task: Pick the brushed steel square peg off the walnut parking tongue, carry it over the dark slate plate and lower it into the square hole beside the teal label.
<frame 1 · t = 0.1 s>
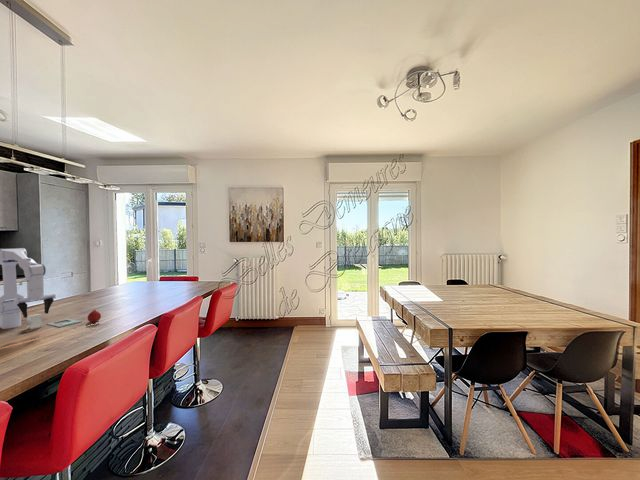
hand: (36, 315, 137), 10 cm above the kitchen island, tool pointing down, fingers open, 7 cm apart
hole plate: (64, 324, 152), on the kitchen island
parking tongue: (34, 329, 144), on the kitchen island
steel peg: (34, 328, 144), point 1 cm above the kitchen island, touching parking tongue
onion: (94, 323, 154), on the kitchen island
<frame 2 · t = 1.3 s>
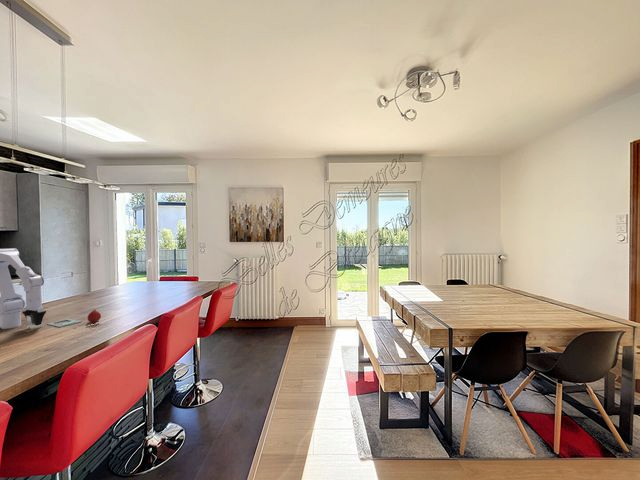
hand: (34, 324, 144), 3 cm above the kitchen island, tool pointing down, fingers open, 7 cm apart
nothing on the kitchen island moved.
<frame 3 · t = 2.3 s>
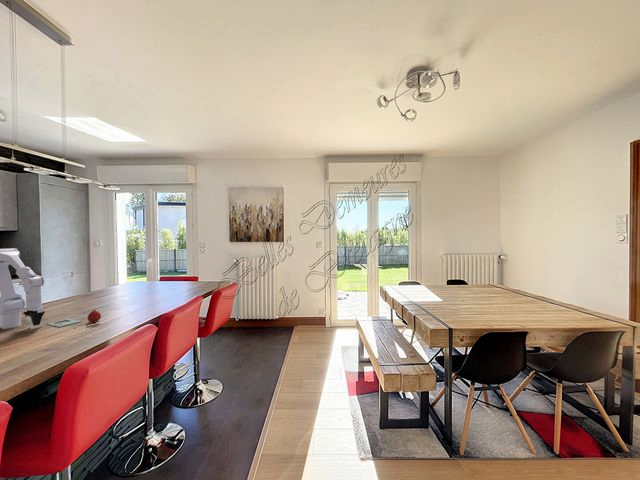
hand: (34, 324, 144), 3 cm above the kitchen island, tool pointing down, fingers closed on steel peg, 4 cm apart
steel peg: (34, 328, 144), point 1 cm above the kitchen island, touching gripper, parking tongue
everything else where it was.
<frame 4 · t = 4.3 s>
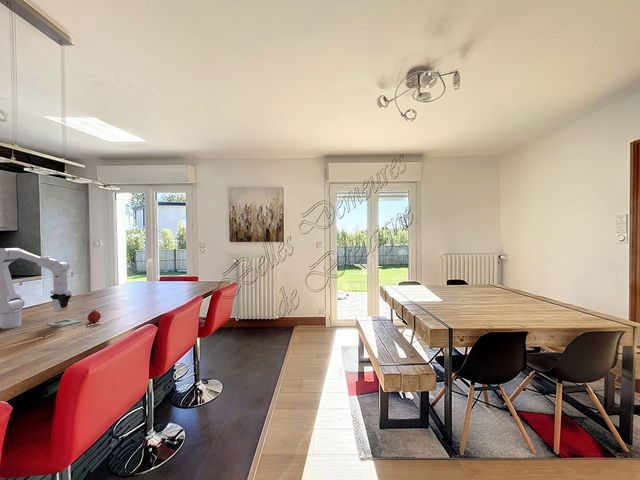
hand: (61, 307, 152), 10 cm above the kitchen island, tool pointing down, fingers closed on steel peg, 4 cm apart
steel peg: (60, 310, 152), point 8 cm above the kitchen island, touching gripper
everything else where it was.
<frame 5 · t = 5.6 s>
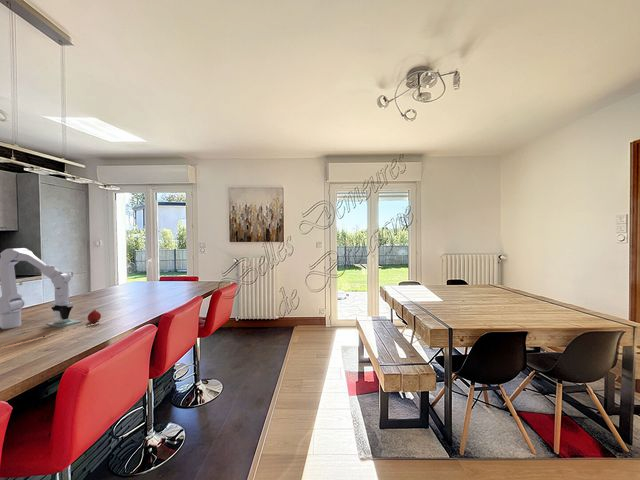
hand: (62, 318, 153), 3 cm above the kitchen island, tool pointing down, fingers closed on steel peg, 4 cm apart
steel peg: (62, 322, 153), point 1 cm above the kitchen island, touching gripper
everything else where it was.
when the fingers open (3 cm above the kitchen island, at t = 6.5 s): steel peg drops 1 cm, resting in hole plate.
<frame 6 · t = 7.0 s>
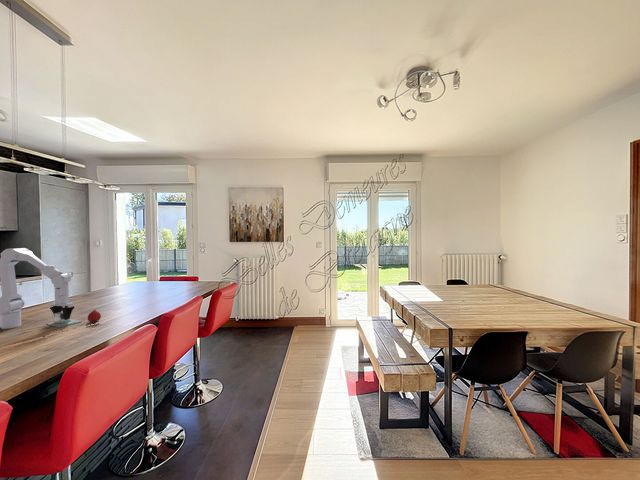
hand: (62, 318, 153), 3 cm above the kitchen island, tool pointing down, fingers open, 7 cm apart
steel peg: (62, 324, 153), resting in hole plate
everything else where it was.
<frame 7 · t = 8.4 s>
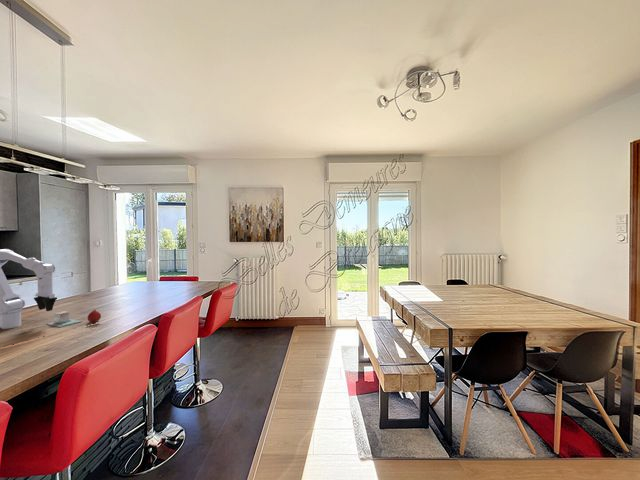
hand: (45, 310, 149), 9 cm above the kitchen island, tool pointing down, fingers open, 7 cm apart
nothing on the kitchen island moved.
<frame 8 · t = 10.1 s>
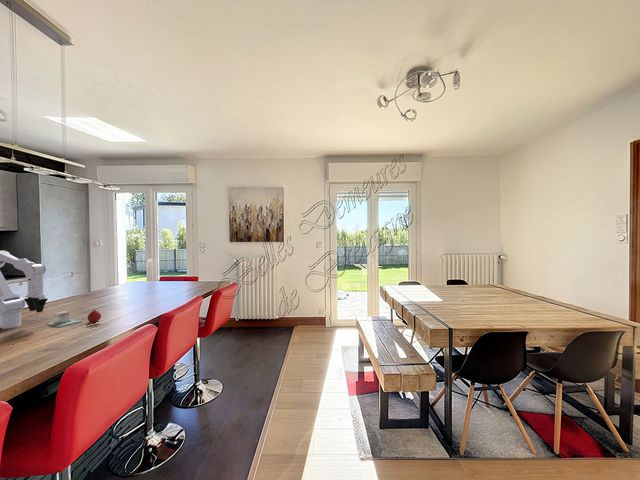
hand: (36, 311, 146), 9 cm above the kitchen island, tool pointing down, fingers open, 7 cm apart
nothing on the kitchen island moved.
at the end: steel peg 0.2 cm from the target spot on the hole plate, point 0.0 cm above the hole plate's base; steel peg tilted 0°; the gripper is holding nothing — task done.
